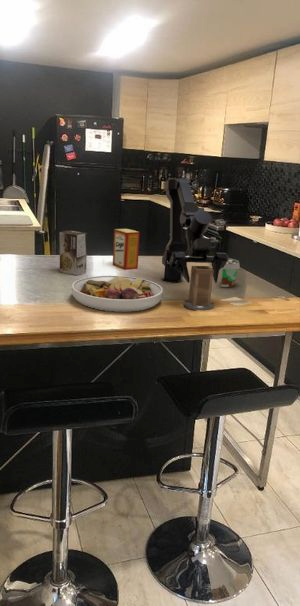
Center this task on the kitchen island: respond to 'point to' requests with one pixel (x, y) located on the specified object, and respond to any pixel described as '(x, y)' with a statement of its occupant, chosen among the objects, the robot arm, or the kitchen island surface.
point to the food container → (229, 273)
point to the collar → (200, 285)
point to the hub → (191, 307)
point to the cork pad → (236, 301)
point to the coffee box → (73, 252)
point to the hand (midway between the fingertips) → (202, 282)
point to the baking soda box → (126, 249)
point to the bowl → (117, 293)
